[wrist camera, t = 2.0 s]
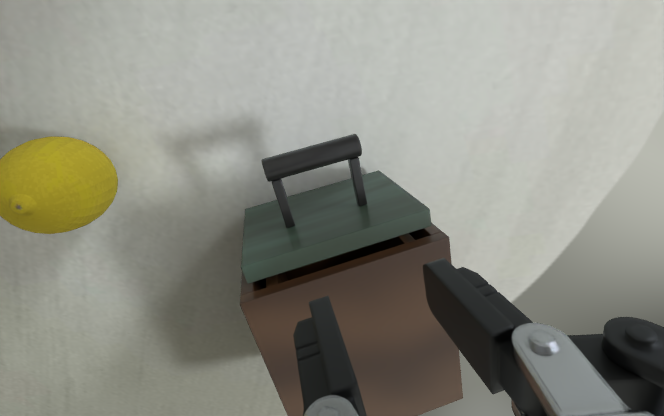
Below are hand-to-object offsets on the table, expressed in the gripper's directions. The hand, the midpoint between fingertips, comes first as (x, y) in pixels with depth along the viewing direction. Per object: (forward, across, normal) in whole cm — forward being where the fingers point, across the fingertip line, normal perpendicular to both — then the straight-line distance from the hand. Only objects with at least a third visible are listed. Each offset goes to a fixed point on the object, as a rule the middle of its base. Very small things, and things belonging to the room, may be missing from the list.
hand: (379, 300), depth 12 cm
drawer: (+16, 0, +6) cm, 17 cm away
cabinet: (+17, 0, +10) cm, 20 cm away
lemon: (+17, +15, -5) cm, 23 cm away
